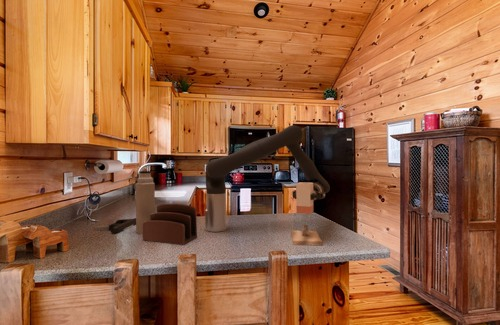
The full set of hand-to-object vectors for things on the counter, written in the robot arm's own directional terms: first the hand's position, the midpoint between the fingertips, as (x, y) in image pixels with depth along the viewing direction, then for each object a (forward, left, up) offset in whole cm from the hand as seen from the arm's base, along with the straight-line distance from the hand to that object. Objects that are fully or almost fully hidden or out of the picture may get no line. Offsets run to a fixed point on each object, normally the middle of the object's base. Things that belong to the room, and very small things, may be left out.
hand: (303, 196), depth 97 cm
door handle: (-89, +12, -18) cm, 92 cm away
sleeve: (+1, +2, -7) cm, 7 cm away
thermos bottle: (-71, +7, -18) cm, 74 cm away
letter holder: (-55, -2, -18) cm, 58 cm away
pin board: (+1, +2, -18) cm, 18 cm away
